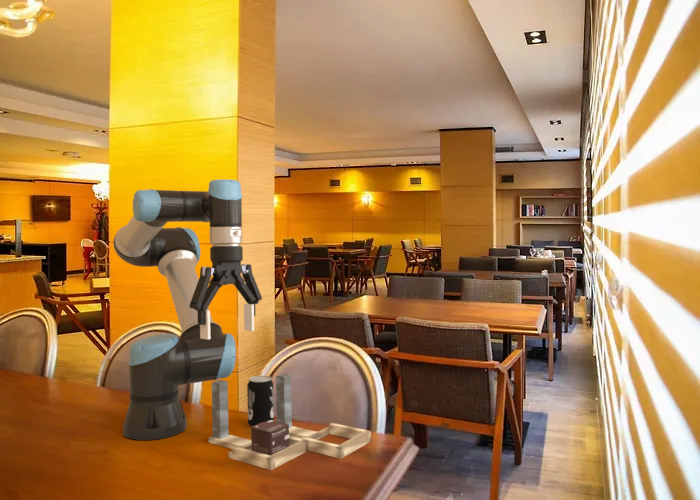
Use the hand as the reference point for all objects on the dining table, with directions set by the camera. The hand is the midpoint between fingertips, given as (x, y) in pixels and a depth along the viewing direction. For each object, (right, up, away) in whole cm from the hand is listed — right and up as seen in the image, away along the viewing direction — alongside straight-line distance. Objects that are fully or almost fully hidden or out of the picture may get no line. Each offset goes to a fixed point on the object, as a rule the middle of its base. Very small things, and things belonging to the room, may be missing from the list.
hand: (228, 334), depth 137 cm
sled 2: (+21, -25, -1) cm, 32 cm away
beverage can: (+6, -25, +11) cm, 28 cm away
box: (+12, -26, -11) cm, 30 cm away
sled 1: (+6, -25, -6) cm, 27 cm away
